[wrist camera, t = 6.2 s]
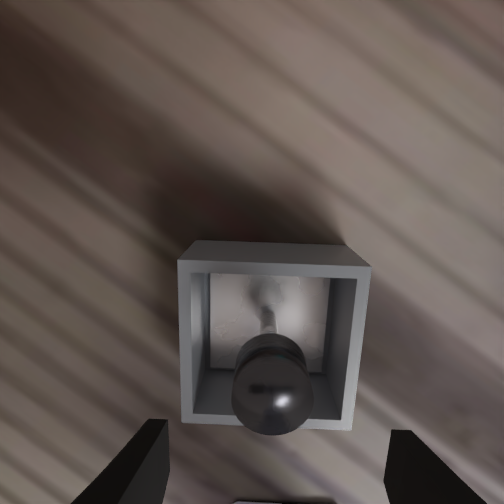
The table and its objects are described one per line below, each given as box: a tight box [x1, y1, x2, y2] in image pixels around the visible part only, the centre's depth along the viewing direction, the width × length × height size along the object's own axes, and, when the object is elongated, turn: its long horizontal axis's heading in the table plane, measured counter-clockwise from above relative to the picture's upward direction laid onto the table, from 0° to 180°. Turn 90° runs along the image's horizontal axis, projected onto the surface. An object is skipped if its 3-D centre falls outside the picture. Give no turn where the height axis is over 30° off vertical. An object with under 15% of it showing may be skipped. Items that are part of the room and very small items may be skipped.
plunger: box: [210, 273, 330, 435], centre depth 16 cm, size 7×7×8 cm
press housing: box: [177, 240, 372, 430], centre depth 18 cm, size 9×9×4 cm
